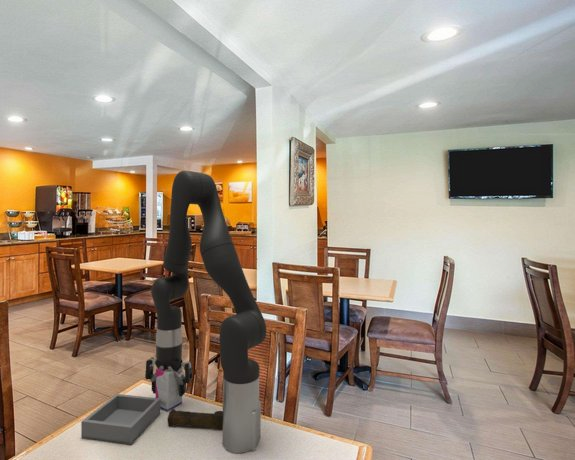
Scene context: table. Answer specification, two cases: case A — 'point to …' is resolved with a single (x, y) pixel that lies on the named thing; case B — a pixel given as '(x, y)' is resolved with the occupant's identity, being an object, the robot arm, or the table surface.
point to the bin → (121, 419)
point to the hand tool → (196, 419)
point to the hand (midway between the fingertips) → (168, 393)
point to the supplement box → (168, 389)
